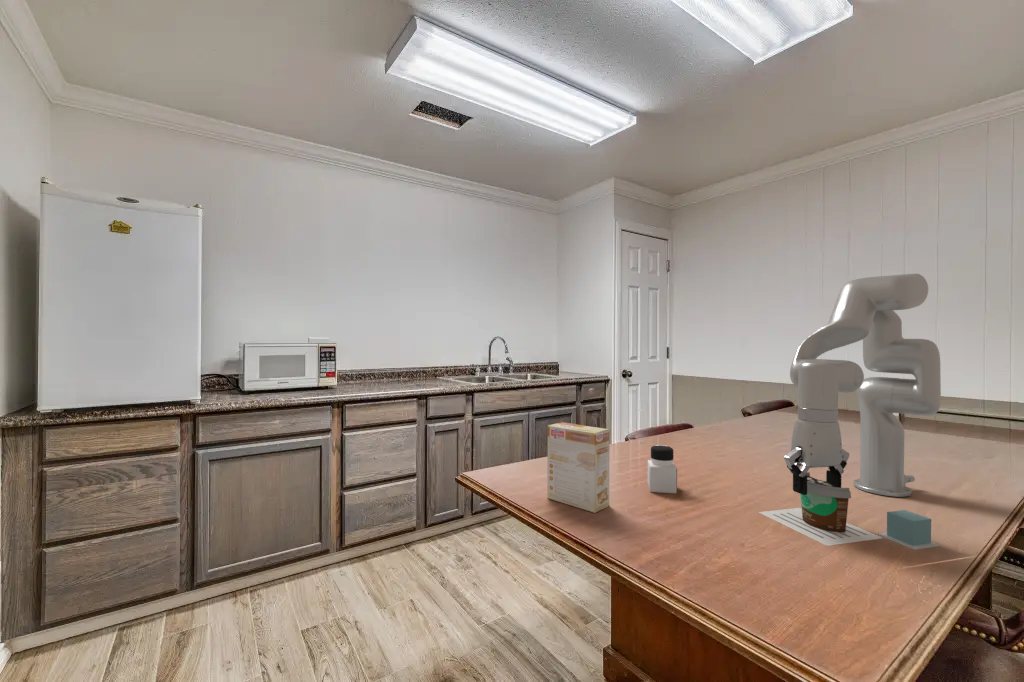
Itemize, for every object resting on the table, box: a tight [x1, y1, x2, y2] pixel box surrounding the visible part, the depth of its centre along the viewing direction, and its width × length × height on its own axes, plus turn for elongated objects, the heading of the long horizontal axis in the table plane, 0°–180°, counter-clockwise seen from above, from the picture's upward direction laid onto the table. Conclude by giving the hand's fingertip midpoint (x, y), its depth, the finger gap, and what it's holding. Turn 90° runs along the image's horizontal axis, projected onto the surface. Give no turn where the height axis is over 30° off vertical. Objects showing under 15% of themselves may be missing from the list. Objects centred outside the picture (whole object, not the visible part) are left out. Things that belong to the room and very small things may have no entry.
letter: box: [758, 507, 883, 547], centre depth 102 cm, size 15×18×1 cm
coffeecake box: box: [546, 422, 611, 514], centre depth 115 cm, size 15×7×20 cm, turn 47°
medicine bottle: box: [647, 444, 678, 495], centre depth 126 cm, size 7×7×12 cm
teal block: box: [886, 509, 932, 546], centre depth 94 cm, size 5×5×5 cm
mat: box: [877, 532, 941, 551], centre depth 94 cm, size 7×7×1 cm
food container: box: [799, 471, 852, 532], centre depth 102 cm, size 12×6×10 cm, turn 6°
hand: (816, 491), depth 102 cm, fingers open, 9 cm apart
